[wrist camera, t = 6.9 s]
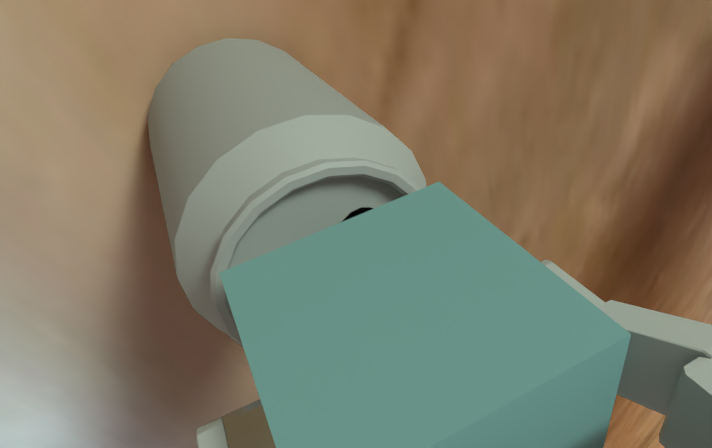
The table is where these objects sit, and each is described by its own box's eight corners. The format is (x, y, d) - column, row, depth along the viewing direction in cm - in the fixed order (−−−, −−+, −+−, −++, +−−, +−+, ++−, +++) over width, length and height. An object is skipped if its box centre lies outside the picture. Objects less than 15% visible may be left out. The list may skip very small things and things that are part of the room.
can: (320, 179, 25) (448, 335, 16) (169, 212, 22) (215, 420, 13) (310, 24, 21) (475, 113, 12) (123, 44, 18) (143, 176, 9)
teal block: (439, 181, 11) (631, 333, 7) (452, 330, 14) (590, 495, 10) (219, 273, 9) (298, 519, 6) (286, 413, 12) (368, 638, 9)
